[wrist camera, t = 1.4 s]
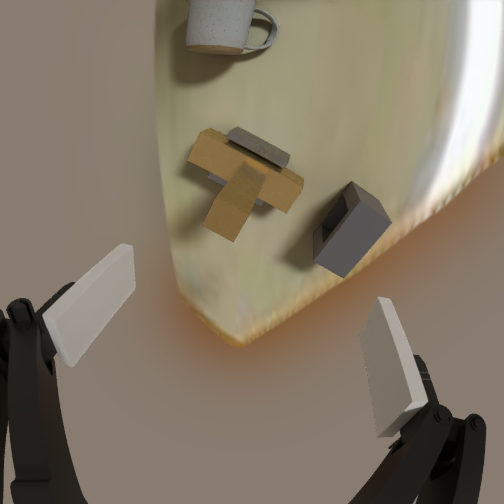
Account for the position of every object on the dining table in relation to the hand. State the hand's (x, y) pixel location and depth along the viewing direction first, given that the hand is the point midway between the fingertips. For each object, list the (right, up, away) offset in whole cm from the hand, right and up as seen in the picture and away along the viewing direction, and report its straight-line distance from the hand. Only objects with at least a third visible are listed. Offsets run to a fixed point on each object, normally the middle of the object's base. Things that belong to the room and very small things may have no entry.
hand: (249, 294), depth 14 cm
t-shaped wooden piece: (0, +14, +22) cm, 26 cm away
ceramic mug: (-2, +31, +13) cm, 34 cm away
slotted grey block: (+14, +7, +25) cm, 29 cm away
